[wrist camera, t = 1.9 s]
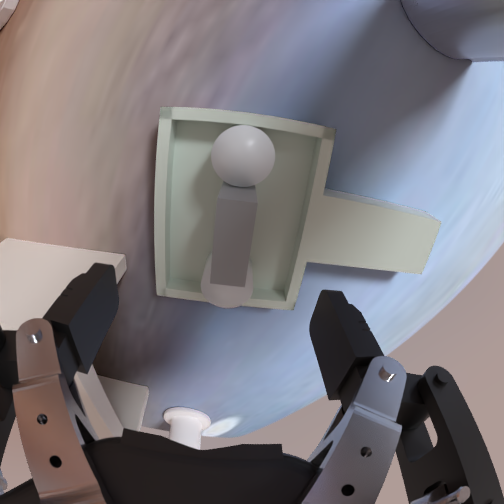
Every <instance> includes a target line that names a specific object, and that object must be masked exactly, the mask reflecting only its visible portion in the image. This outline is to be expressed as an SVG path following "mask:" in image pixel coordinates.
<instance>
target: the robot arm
mask: <svg viewBox="0 0 504 504" xmlns="http://www.w3.org/2000/svg"><path fill="white" fill-rule="evenodd" d="M401 2H402V5H403V8H404V10H405V12H406V14H407V16H408V18H409V19H410V21H411V22H412V24H413V26H414V27H415V28H416V30H417V31H418V32H419V33H420V35H421V36H422V37H423V38H424V39H425V40H426V41H427V42H428V43H429V44H430V45H431V46H432V47H434V48H435V49H436V50H437V51H439V52H440V53H442V54H444V55H445V56H448V57H450V58H453V59H470V60H471V61H472V62H486V61H504V0H401ZM118 305H119V297H118V289H117V282H116V273H115V268H114V266H113V265H110V264H103V263H97V262H96V263H94V264H93V265H92V266H91V267H90V269H89V270H88V271H87V272H86V273H82V274H80V275H79V276H77V277H75V278H74V279H72V280H71V282H70V283H69V284H68V285H67V287H66V289H64V290H63V291H62V293H61V295H60V296H59V297H58V298H57V299H56V300H55V302H54V303H53V304H52V306H51V307H50V308H49V309H48V311H47V312H46V313H45V315H44V316H43V318H34V319H30V320H28V321H26V322H24V323H23V324H22V325H21V326H20V327H19V328H18V330H2V328H1V325H0V466H1V462H2V458H3V454H4V450H5V447H6V444H7V441H8V437H9V435H10V431H11V429H12V426H13V423H14V420H15V417H16V418H17V423H18V428H19V432H20V437H21V441H22V445H23V448H24V452H25V456H26V459H27V463H28V465H29V469H30V472H31V475H32V479H30V480H28V481H26V482H24V483H23V484H21V485H19V486H17V487H16V488H14V489H11V490H10V491H8V492H6V493H4V492H3V490H5V489H6V488H7V481H6V479H5V478H4V477H3V476H2V472H1V469H0V504H375V502H376V499H377V497H378V495H379V493H380V490H381V488H382V486H383V483H384V481H385V478H386V476H387V473H388V470H389V468H390V465H391V462H392V459H393V456H394V453H395V451H396V454H397V458H398V461H399V465H400V469H401V473H402V476H403V480H404V484H405V488H406V492H407V496H408V501H409V504H504V497H503V494H502V490H501V487H500V484H499V481H498V477H497V475H496V472H495V469H494V466H493V463H492V461H491V458H490V455H489V452H488V451H487V447H486V445H485V443H484V440H483V438H482V435H481V433H480V431H479V429H478V427H477V424H476V422H475V420H474V418H473V416H472V413H471V411H470V409H469V408H468V405H467V403H466V402H465V399H464V397H463V395H462V393H461V392H460V390H459V388H458V386H457V384H456V382H455V380H454V379H453V377H452V375H451V374H450V373H449V372H448V371H447V370H445V369H444V368H442V367H439V366H431V367H429V368H428V369H427V370H426V372H425V373H424V374H423V375H416V374H410V373H406V371H405V369H404V367H403V366H402V365H401V364H400V363H399V362H398V361H396V360H395V359H393V358H391V357H387V356H384V354H383V352H382V351H381V349H380V347H379V345H378V343H377V341H376V339H375V337H374V335H373V334H372V332H371V331H370V328H369V326H368V324H367V323H366V321H365V319H364V317H363V315H362V313H361V312H360V311H359V310H358V309H357V308H356V307H355V306H353V305H352V304H349V303H348V301H347V300H346V298H345V296H344V294H343V292H342V291H334V290H322V291H321V293H320V295H319V298H318V301H317V304H316V307H315V309H314V312H313V315H312V318H311V321H310V327H309V332H310V337H311V340H312V344H313V347H314V350H315V354H316V357H317V360H318V364H319V367H320V371H321V374H322V378H323V381H324V385H325V388H326V392H327V395H328V399H329V400H341V404H342V405H341V406H340V408H339V409H338V411H337V413H336V415H335V417H334V418H333V420H332V422H331V424H330V426H329V428H328V429H327V431H326V433H325V434H324V436H323V438H322V440H321V441H320V443H319V444H318V446H317V447H316V449H315V450H314V452H313V453H312V454H311V455H310V457H309V458H308V459H307V461H306V460H304V459H301V458H299V457H296V456H293V455H290V454H286V453H283V452H282V444H241V445H236V446H230V447H224V448H217V449H210V450H198V449H195V448H192V447H189V446H186V445H183V444H181V443H178V442H175V441H173V440H170V439H168V438H165V437H162V436H159V435H154V434H149V433H144V432H139V431H135V430H131V429H126V428H124V429H123V433H122V437H109V438H104V439H100V440H99V438H98V436H97V434H96V432H95V430H94V429H93V427H92V425H91V423H90V420H89V418H88V415H87V413H86V410H85V408H84V405H83V402H82V399H81V397H80V394H79V391H78V388H77V385H76V382H75V379H74V376H75V374H76V372H77V371H78V372H81V373H84V374H88V372H89V370H90V367H91V365H92V363H93V361H94V358H95V356H96V354H97V352H98V350H99V348H100V346H101V343H102V341H103V339H104V337H105V335H106V333H107V331H108V329H109V327H110V325H111V323H112V321H113V319H114V317H115V315H116V313H117V310H118ZM428 417H430V418H431V420H432V423H433V425H434V428H435V430H436V433H437V436H438V440H437V444H436V446H435V447H434V448H433V445H432V442H431V440H430V437H429V434H428V431H427V429H426V426H425V423H424V421H425V420H426V419H427V418H428Z"/></svg>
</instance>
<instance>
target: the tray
mask: <svg viewBox="0 0 504 504" xmlns="http://www.w3.org/2000/svg"><path fill="white" fill-rule="evenodd" d="M335 133H336V129H333V128H329V127H325V126H321V125H316V124H312V123H307V122H302V121H297V120H292V119H286V118H280V117H274V116H268V115H261V114H254V113H246V112H238V111H228V110H218V109H205V108H187V107H161V109H160V118H159V128H158V140H157V153H156V170H155V197H154V246H155V274H156V291H157V295H158V296H165V297H172V298H180V299H187V300H195V301H203V302H210V303H211V304H213V305H215V306H218V307H221V308H235V307H238V306H249V307H259V308H271V309H283V310H294V307H295V303H296V300H297V296H298V293H299V289H300V286H301V282H302V278H303V275H304V271H305V267H306V263H307V262H313V263H322V264H331V265H340V266H349V267H358V268H368V269H377V270H386V271H395V272H405V273H414V274H422V272H423V270H424V267H425V265H426V262H427V260H428V258H429V255H430V253H431V250H432V247H433V245H434V242H435V239H436V236H437V234H438V231H439V228H440V225H441V221H439V220H438V219H436V218H435V217H433V216H432V215H430V214H429V213H427V212H426V211H422V210H418V209H414V208H411V207H407V206H403V205H399V204H395V203H391V202H387V201H382V200H378V199H374V198H369V197H365V196H360V195H355V194H351V193H346V192H341V191H336V190H331V189H325V184H326V179H327V174H328V169H329V165H330V160H331V155H332V149H333V144H334V139H335Z"/></svg>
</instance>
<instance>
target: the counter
mask: <svg viewBox="0 0 504 504" xmlns="http://www.w3.org/2000/svg"><path fill="white" fill-rule="evenodd" d="M96 262H97V263H103V264H110V265H113V266H114V268H115V273H116V282H117V284H118V282H119V280H120V279H121V277H122V276H123V274H124V273H125V271H126V270H127V268H126V257H125V254H117V253H110V252H102V251H95V250H87V249H80V248H73V247H66V246H58V245H52V244H45V243H38V242H31V241H24V240H18V239H11V238H6V239H5V240H4V241H2V242H1V243H0V325H1V328H2V330H18V328H19V327H20V326H21V325H22V324H23V323H24V322H26V321H28V320H30V319H34V318H43V316H44V315H45V313H46V312H47V311H48V309H49V308H50V307H51V306H52V304H53V303H54V302H55V300H56V299H57V298H58V297H59V296H60V295H61V293H62V291H63V290H64V289H66V287H67V285H68V284H69V283H70V282H71V280H72V279H74V278H75V277H77V276H79V275H80V274H82V273H86V272H87V271H88V270H89V269H90V267H91V266H92V265H93V264H94V263H96ZM74 379H75V382H76V385H77V388H78V391H79V394H80V397H81V399H82V402H83V405H84V408H85V410H86V413H87V415H88V418H89V420H90V423H91V425H92V427H93V429H94V430H95V432H96V434H97V436H98V438H99V440H100V439H104V438H109V437H122V433H123V429H124V428H126V429H131V430H135V431H139V432H140V429H141V425H142V421H143V416H144V412H145V408H146V404H147V400H148V396H149V389H148V387H147V386H142V385H137V384H133V383H128V382H124V381H120V380H116V379H112V378H108V377H104V376H100V375H97V374H96V372H95V369H94V367H93V365H91V367H90V370H89V372H88V374H84V373H81V372H78V371H77V372H76V374H75V376H74Z"/></svg>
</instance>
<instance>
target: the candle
mask: <svg viewBox="0 0 504 504" xmlns="http://www.w3.org/2000/svg"><path fill="white" fill-rule="evenodd" d="M164 419H165V421H166V422H167V423H168V424H170V425H171V428H170V434H169V439H170V440H173V441H175V442H178V443H181V444H183V445H186V446H189V447H192V448H195V449H198V450H200V440H201V430H205V429H207V428H209V427H210V425H211V420H210V418H209V417H208V416H207V415H206V414H205V413H203V412H201V411H198V410H195V409H191V408H186V407H173V408H169V409H167V410H166V411H165V412H164Z"/></svg>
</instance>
